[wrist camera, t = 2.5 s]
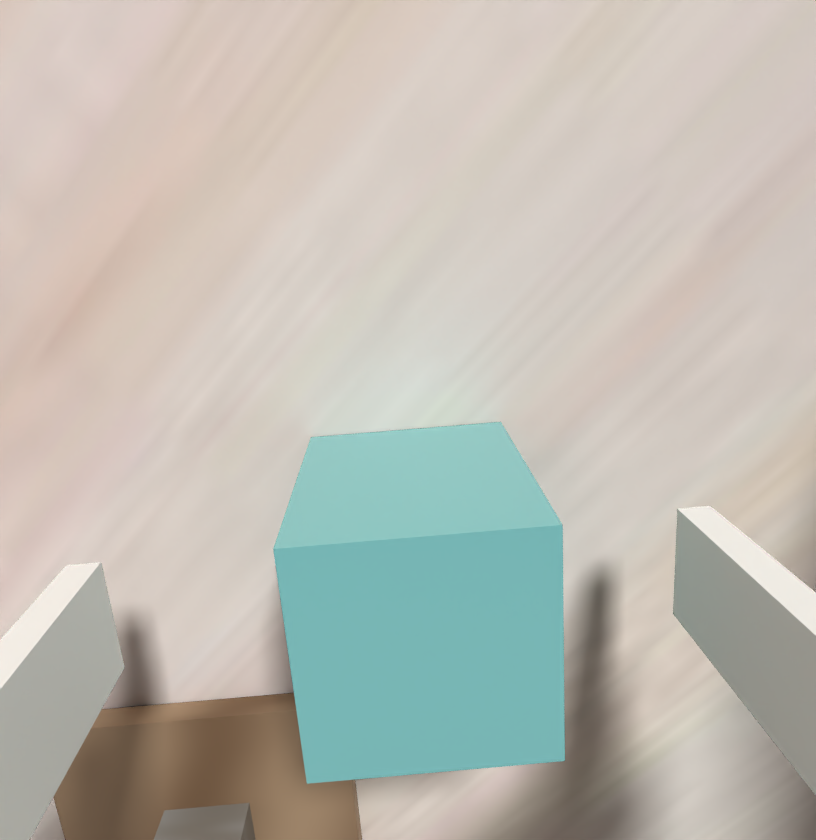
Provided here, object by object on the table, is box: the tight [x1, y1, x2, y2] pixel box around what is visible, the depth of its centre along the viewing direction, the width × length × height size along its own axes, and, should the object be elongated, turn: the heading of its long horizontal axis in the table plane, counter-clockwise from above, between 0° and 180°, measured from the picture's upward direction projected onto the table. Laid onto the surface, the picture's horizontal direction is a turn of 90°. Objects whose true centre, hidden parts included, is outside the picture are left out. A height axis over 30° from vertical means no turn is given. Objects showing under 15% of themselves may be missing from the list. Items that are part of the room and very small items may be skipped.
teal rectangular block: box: [273, 422, 565, 784], centre depth 16 cm, size 5×5×7 cm
